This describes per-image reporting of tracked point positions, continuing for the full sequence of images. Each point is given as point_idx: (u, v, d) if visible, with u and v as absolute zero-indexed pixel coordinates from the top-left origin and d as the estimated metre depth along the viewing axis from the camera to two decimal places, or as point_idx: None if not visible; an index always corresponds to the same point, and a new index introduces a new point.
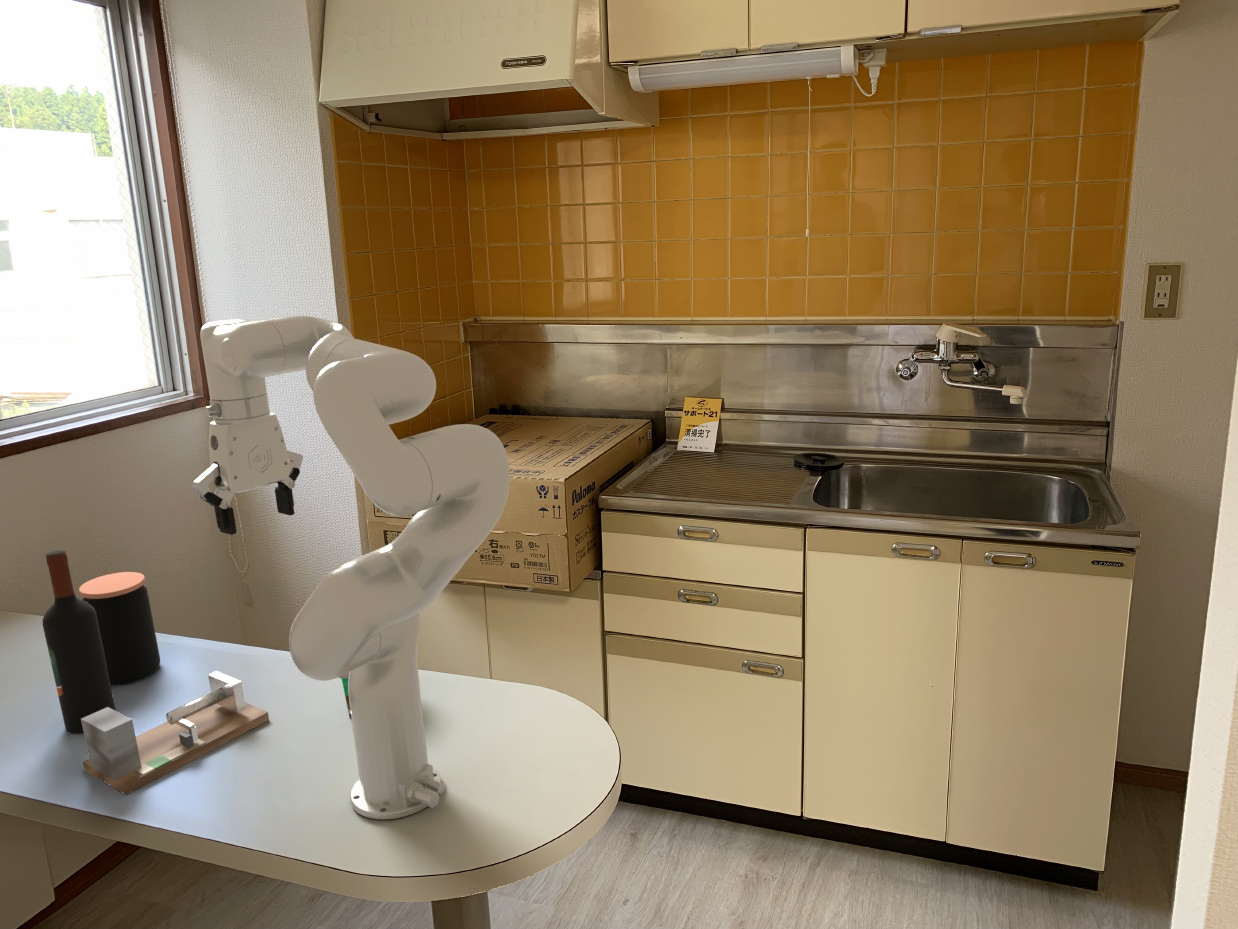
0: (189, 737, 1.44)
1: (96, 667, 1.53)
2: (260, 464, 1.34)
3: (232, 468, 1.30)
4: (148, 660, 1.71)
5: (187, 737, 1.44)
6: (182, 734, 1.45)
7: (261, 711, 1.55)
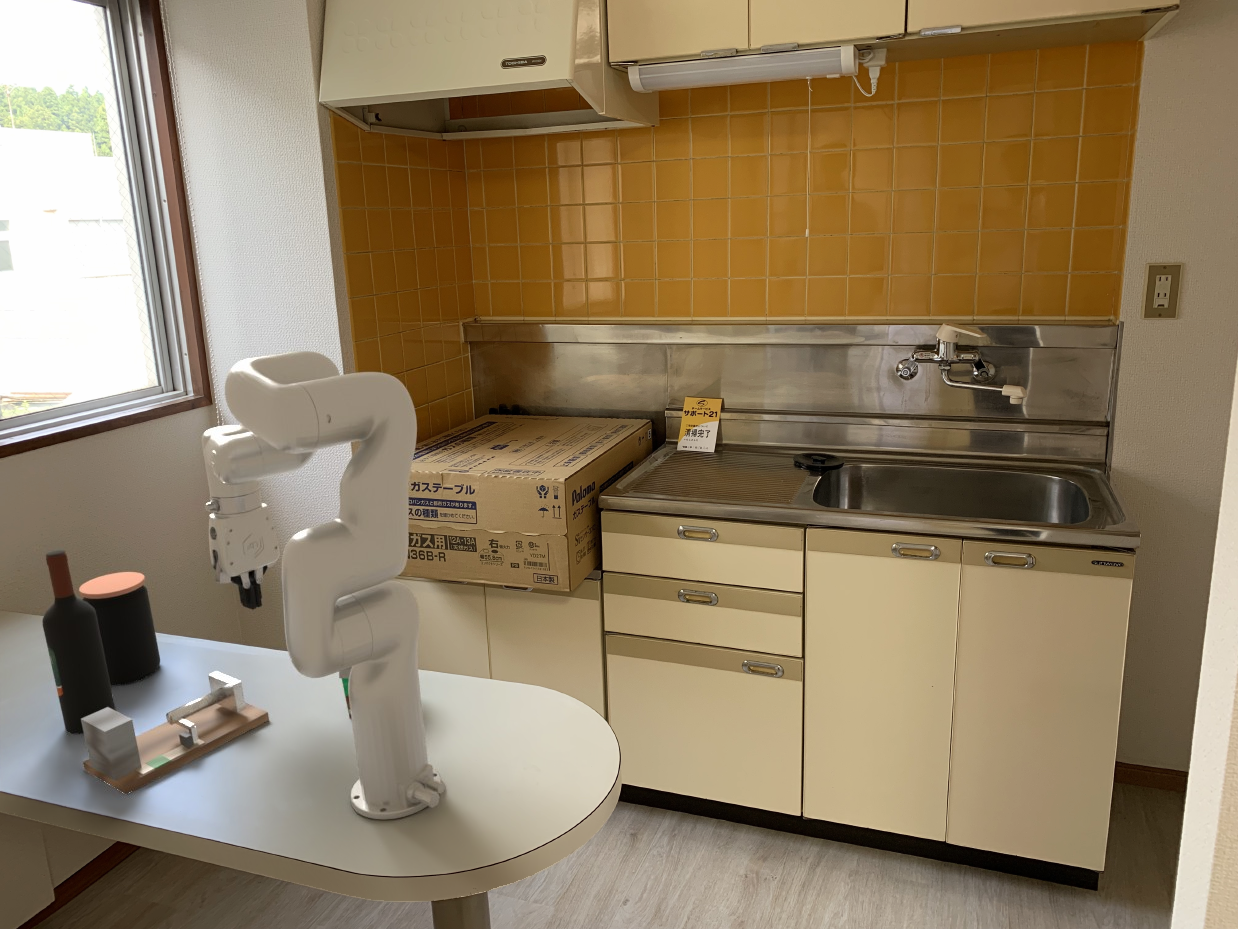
0: (189, 737, 1.44)
1: (96, 667, 1.53)
2: (253, 550, 1.53)
3: (229, 556, 1.50)
4: (148, 660, 1.71)
5: (187, 737, 1.44)
6: (182, 734, 1.45)
7: (261, 711, 1.55)
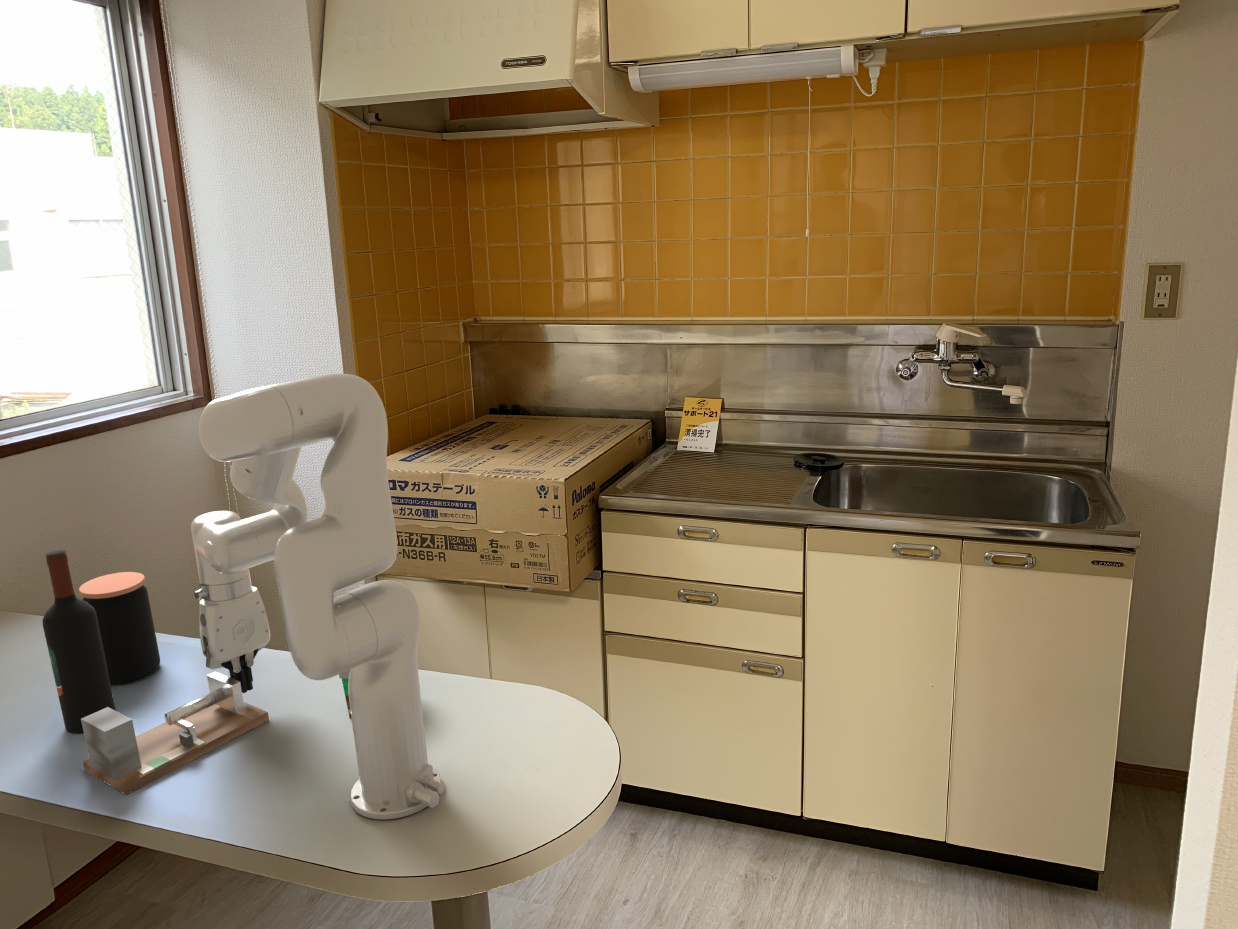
0: (189, 737, 1.44)
1: (96, 667, 1.53)
2: (243, 635, 1.53)
3: (218, 643, 1.50)
4: (148, 660, 1.71)
5: (187, 737, 1.44)
6: (182, 734, 1.45)
7: (261, 711, 1.55)
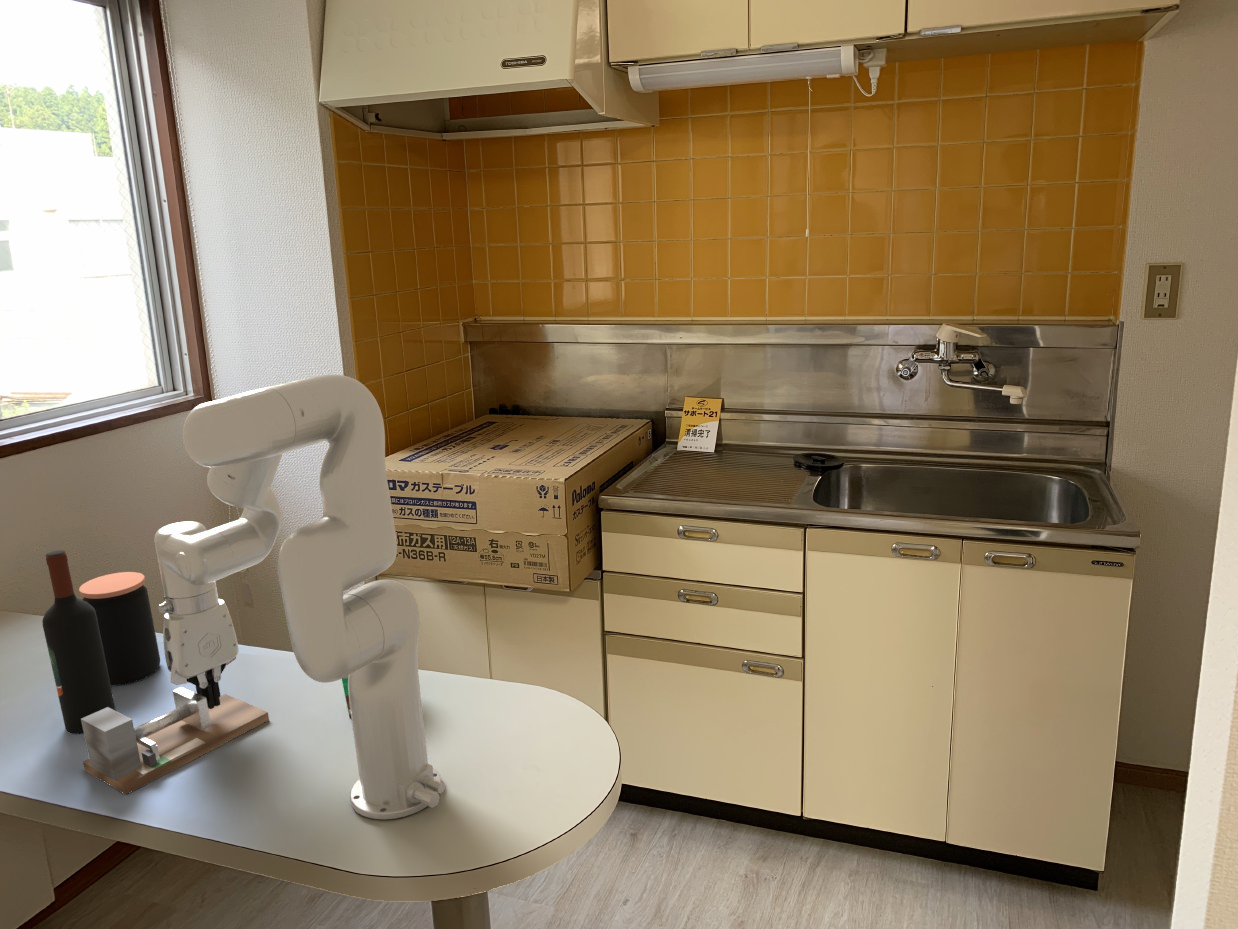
0: (152, 756, 1.39)
1: (96, 667, 1.53)
2: (210, 650, 1.48)
3: (183, 658, 1.45)
4: (148, 660, 1.71)
5: (149, 756, 1.39)
6: (145, 752, 1.40)
7: (261, 711, 1.55)
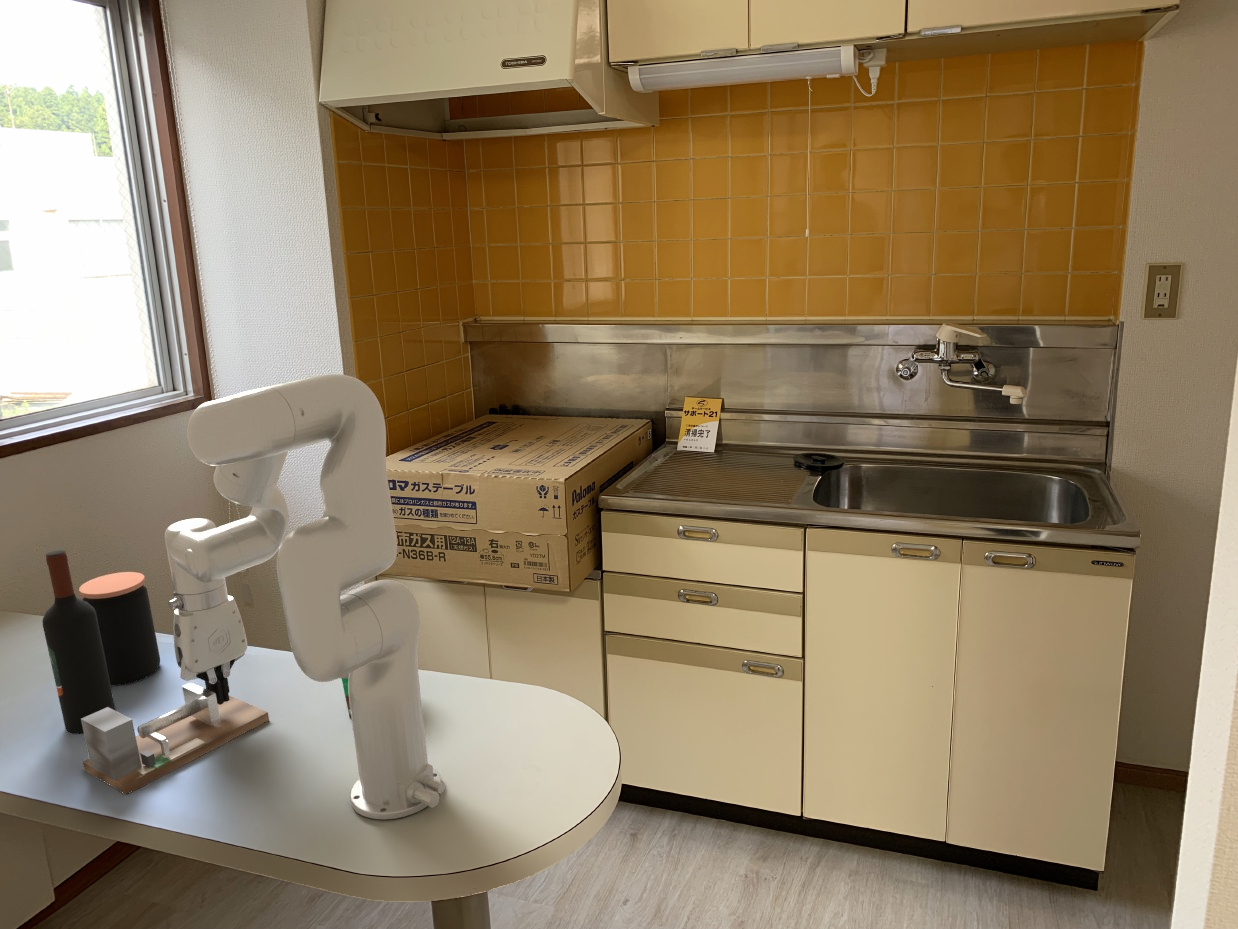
0: (151, 756, 1.39)
1: (96, 667, 1.53)
2: (219, 646, 1.50)
3: (193, 653, 1.46)
4: (148, 660, 1.71)
5: (148, 756, 1.39)
6: (143, 753, 1.40)
7: (261, 711, 1.55)
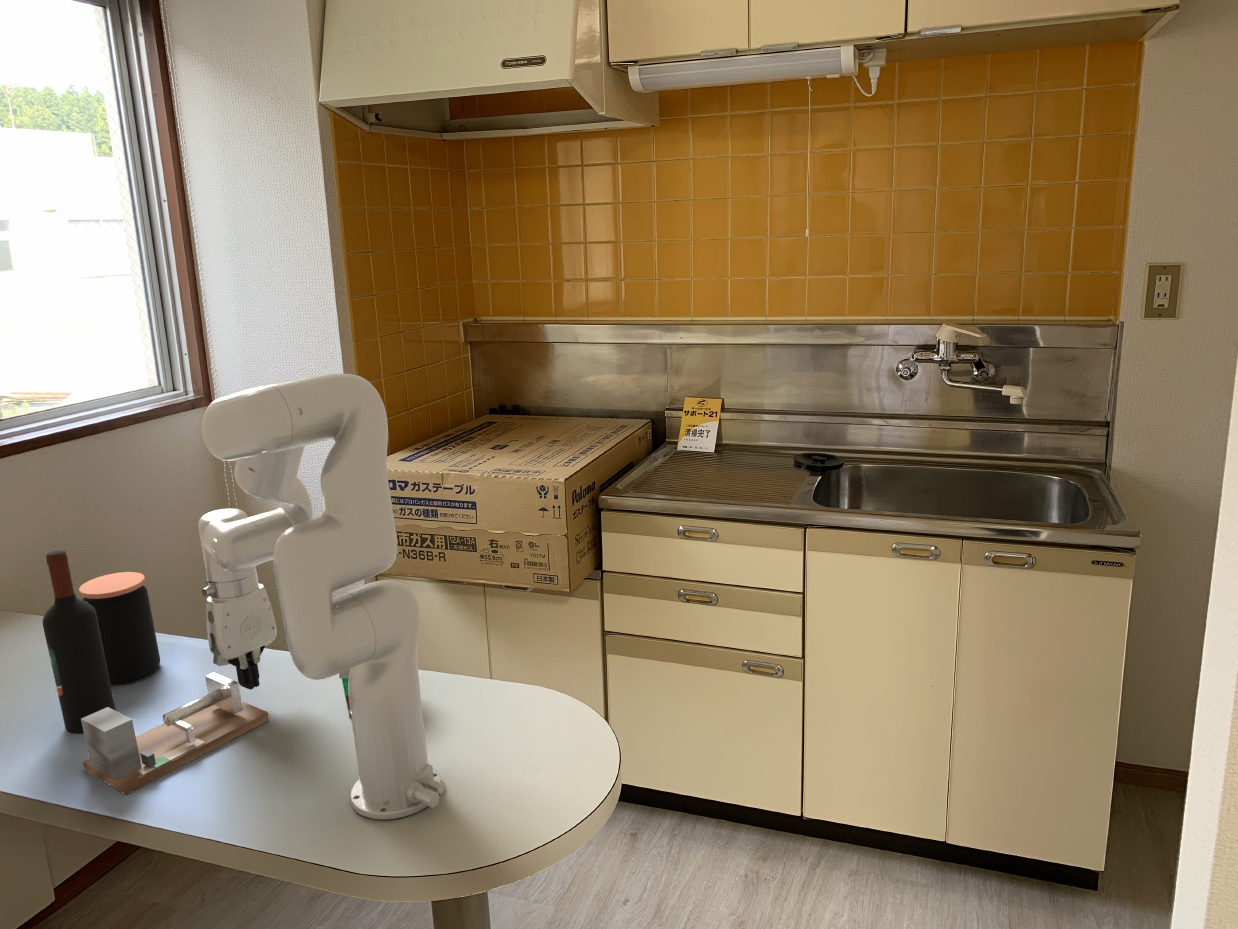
0: (151, 756, 1.39)
1: (96, 667, 1.53)
2: (250, 632, 1.54)
3: (226, 639, 1.51)
4: (148, 660, 1.71)
5: (148, 756, 1.39)
6: (143, 753, 1.40)
7: (261, 711, 1.55)
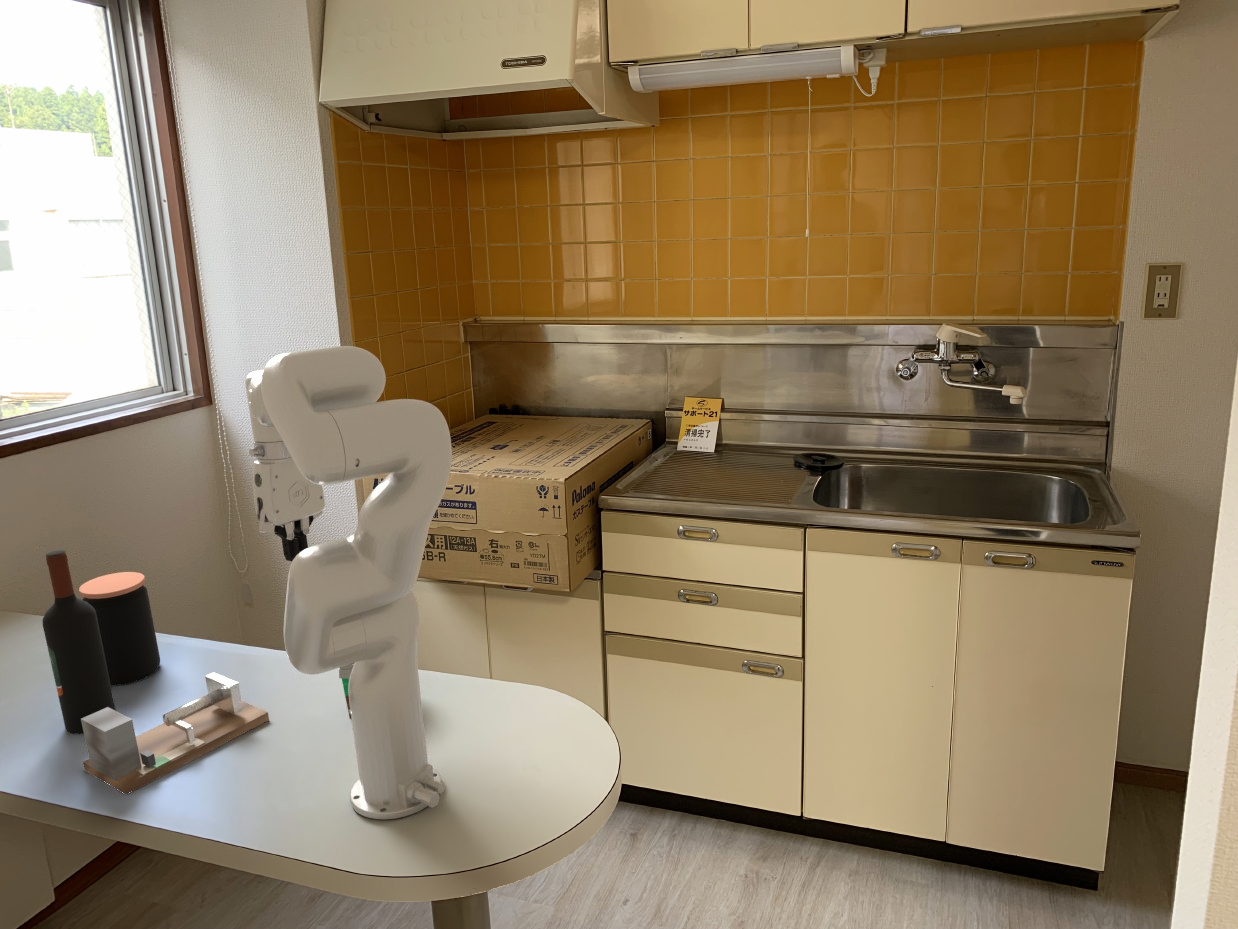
0: (151, 756, 1.39)
1: (96, 667, 1.53)
2: (299, 499, 1.47)
3: (274, 503, 1.44)
4: (148, 660, 1.71)
5: (148, 756, 1.39)
6: (143, 753, 1.40)
7: (261, 711, 1.55)
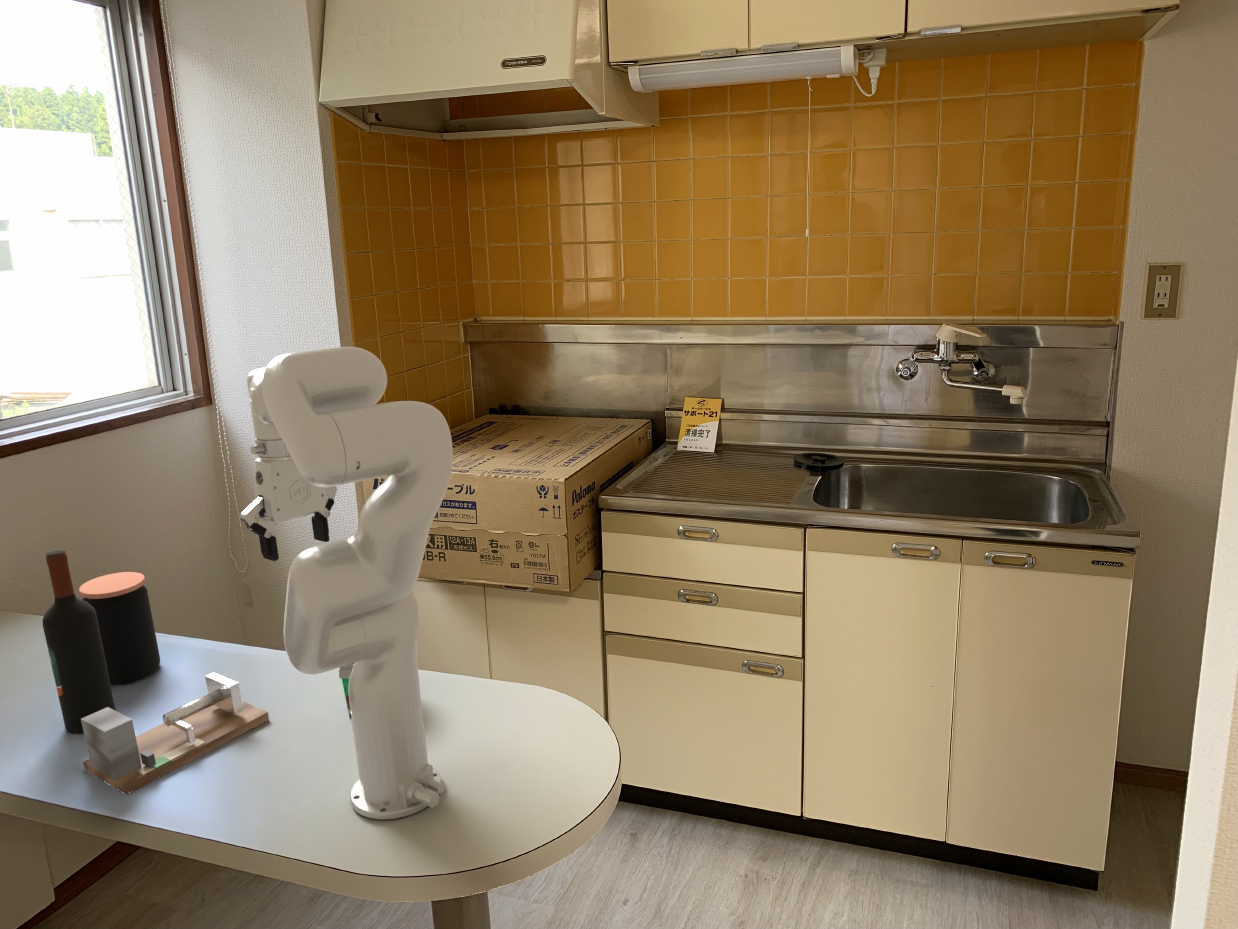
0: (151, 756, 1.39)
1: (96, 667, 1.53)
2: (300, 497, 1.47)
3: (275, 501, 1.44)
4: (148, 660, 1.71)
5: (148, 756, 1.39)
6: (143, 753, 1.40)
7: (261, 711, 1.55)
